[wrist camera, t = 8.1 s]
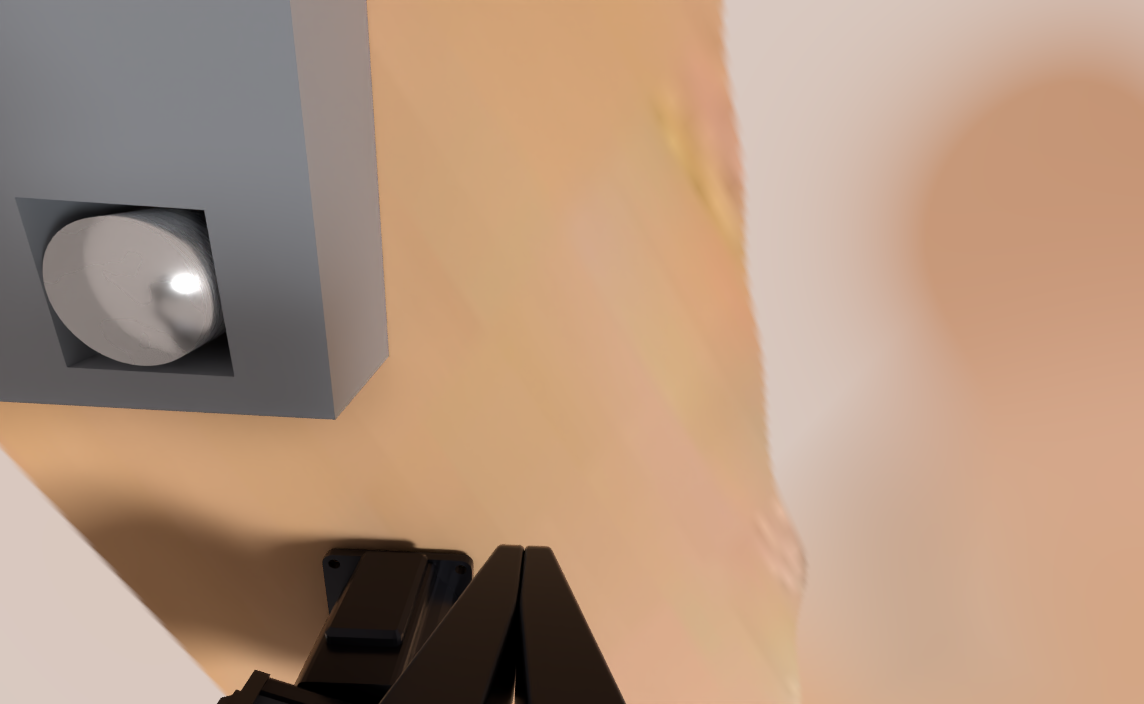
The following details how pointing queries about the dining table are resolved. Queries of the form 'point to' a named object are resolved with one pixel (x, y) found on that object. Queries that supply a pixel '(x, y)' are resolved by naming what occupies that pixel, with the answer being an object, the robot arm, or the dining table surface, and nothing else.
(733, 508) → the dining table surface
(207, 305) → the peg
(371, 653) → the robot arm
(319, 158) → the socket block
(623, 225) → the dining table surface
